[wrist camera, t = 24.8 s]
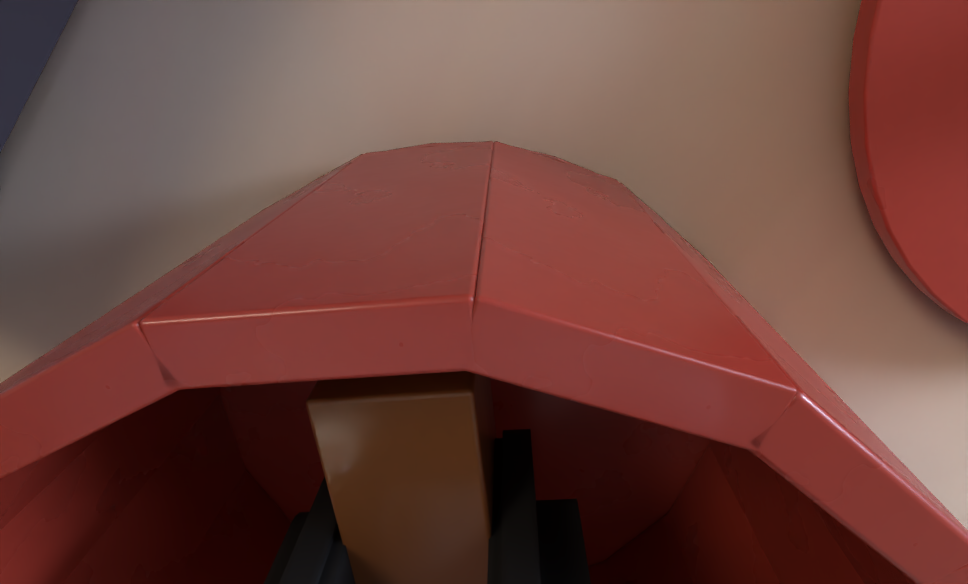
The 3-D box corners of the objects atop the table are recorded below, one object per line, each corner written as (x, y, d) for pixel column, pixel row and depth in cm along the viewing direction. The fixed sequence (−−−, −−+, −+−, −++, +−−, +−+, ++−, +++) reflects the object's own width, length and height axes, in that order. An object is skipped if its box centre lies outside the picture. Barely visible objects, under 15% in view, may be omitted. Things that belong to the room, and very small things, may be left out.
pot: (129, 171, 13) (-472, 365, 5) (759, 111, 12) (1269, 236, 4) (278, 596, 18) (110, 1003, 10) (713, 579, 17) (886, 1017, 9)
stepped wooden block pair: (311, 312, 10) (241, 406, 7) (528, 296, 9) (537, 387, 7) (400, 679, 14) (376, 825, 11) (555, 675, 13) (567, 824, 11)
